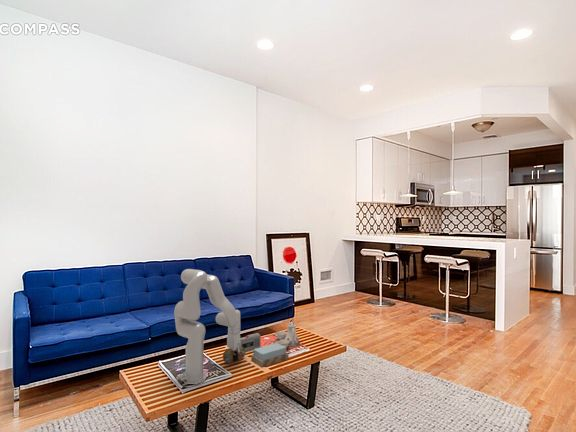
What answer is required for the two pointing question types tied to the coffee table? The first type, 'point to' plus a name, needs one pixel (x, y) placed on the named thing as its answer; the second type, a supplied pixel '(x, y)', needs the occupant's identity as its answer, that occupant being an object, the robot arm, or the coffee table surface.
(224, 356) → the brown rounded slab
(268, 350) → the blue-grey rectangular block
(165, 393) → the coffee table surface
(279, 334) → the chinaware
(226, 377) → the coffee table surface
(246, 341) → the cassette player
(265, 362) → the tower base
